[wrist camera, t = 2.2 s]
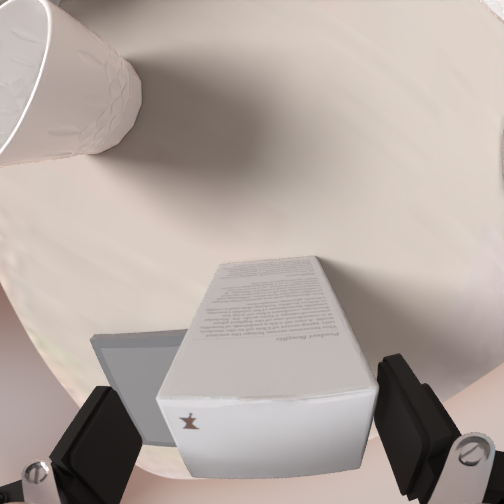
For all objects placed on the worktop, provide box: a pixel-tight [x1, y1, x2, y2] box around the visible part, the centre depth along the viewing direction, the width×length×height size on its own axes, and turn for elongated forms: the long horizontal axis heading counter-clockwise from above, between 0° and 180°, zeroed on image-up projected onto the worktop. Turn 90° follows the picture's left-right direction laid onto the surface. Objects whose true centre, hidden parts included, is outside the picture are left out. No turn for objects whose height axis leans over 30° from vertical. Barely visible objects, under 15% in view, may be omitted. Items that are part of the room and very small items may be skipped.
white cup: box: [0, 0, 142, 167], centre depth 12 cm, size 8×8×10 cm
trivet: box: [90, 329, 188, 447], centre depth 21 cm, size 12×12×1 cm
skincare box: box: [156, 256, 379, 479], centre depth 13 cm, size 6×4×12 cm
